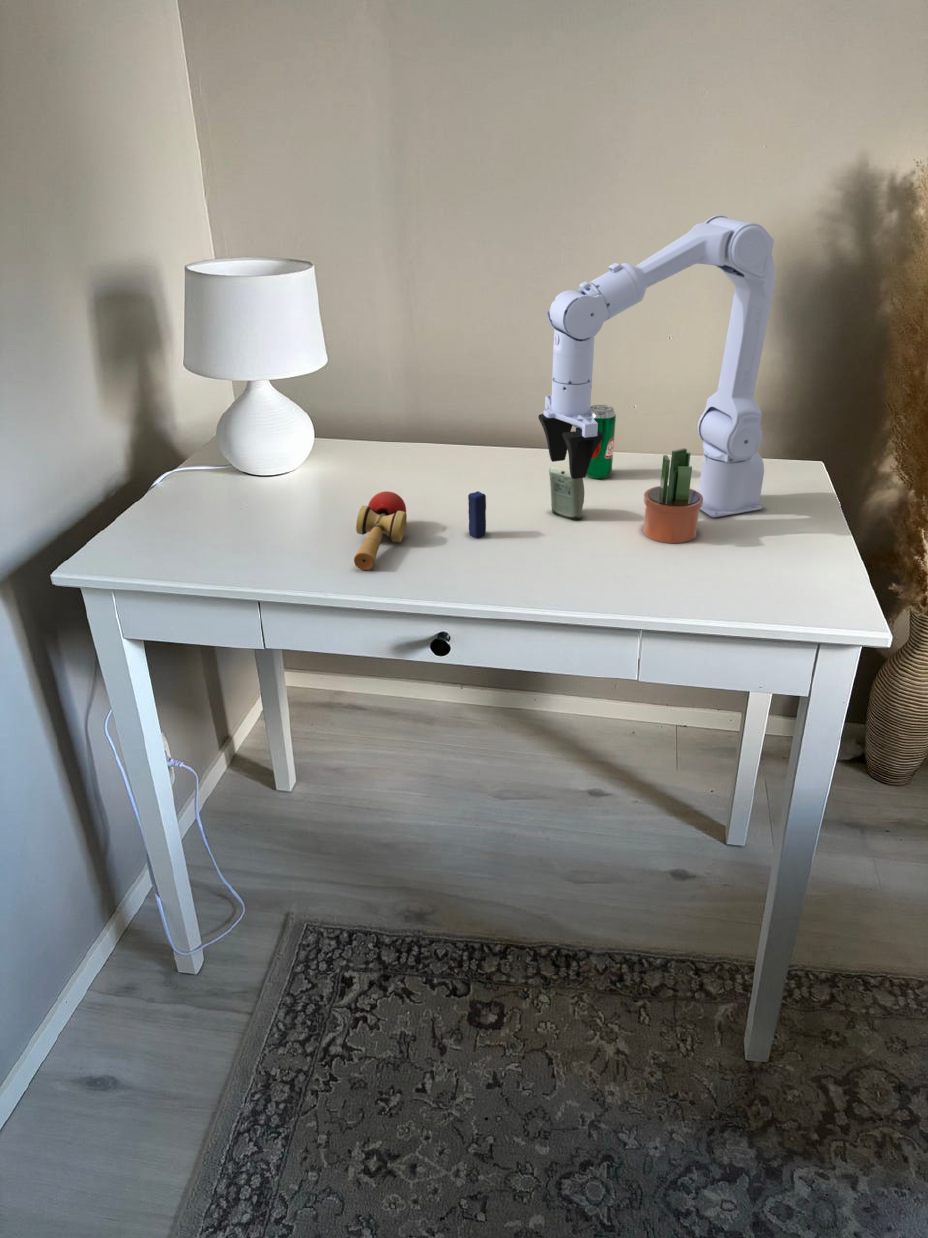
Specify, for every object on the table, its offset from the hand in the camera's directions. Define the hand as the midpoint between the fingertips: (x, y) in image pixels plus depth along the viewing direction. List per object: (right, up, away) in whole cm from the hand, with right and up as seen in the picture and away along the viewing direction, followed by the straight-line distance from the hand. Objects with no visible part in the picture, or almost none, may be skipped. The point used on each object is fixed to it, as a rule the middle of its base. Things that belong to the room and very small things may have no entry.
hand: (567, 468), depth 147 cm
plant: (+16, -9, +4) cm, 19 cm away
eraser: (-14, -10, +3) cm, 17 cm away
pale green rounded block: (+1, -6, +10) cm, 12 cm away
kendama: (-28, -12, +1) cm, 31 cm away
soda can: (+8, +3, +25) cm, 27 cm away
